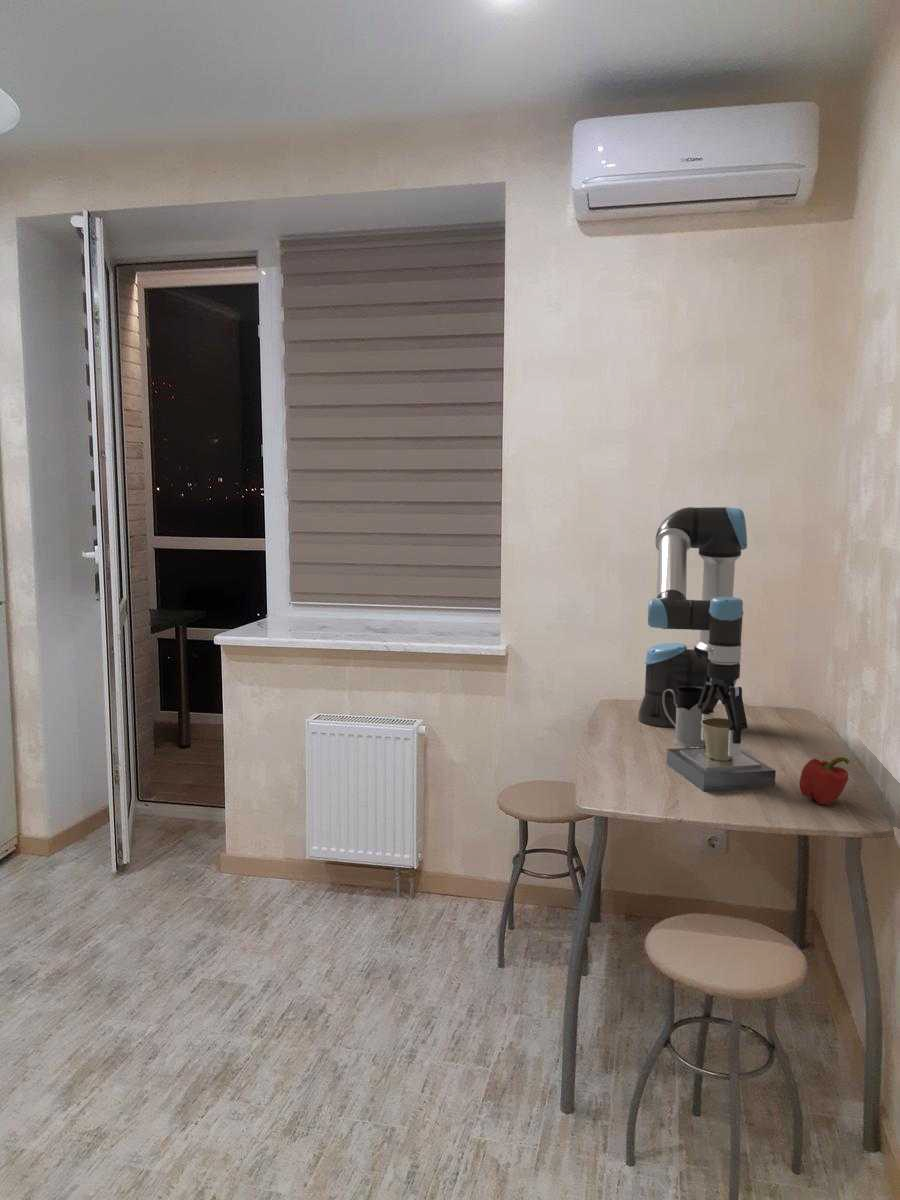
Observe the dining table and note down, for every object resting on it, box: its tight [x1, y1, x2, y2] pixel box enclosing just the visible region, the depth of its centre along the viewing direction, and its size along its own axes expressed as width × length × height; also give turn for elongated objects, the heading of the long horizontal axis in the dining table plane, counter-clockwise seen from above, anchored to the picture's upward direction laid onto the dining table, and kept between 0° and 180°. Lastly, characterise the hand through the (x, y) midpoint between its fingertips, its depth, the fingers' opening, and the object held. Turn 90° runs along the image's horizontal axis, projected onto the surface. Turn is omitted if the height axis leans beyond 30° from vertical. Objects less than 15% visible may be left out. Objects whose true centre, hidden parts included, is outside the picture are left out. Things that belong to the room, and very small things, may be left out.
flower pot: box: [701, 717, 733, 761], centre depth 208 cm, size 9×9×9 cm
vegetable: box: [799, 757, 851, 805], centre depth 192 cm, size 11×10×10 cm
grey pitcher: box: [662, 687, 706, 748], centre depth 237 cm, size 9×14×15 cm, turn 36°
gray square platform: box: [666, 746, 777, 792], centre depth 209 cm, size 20×18×4 cm
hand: (719, 747), depth 208 cm, fingers open, 13 cm apart
